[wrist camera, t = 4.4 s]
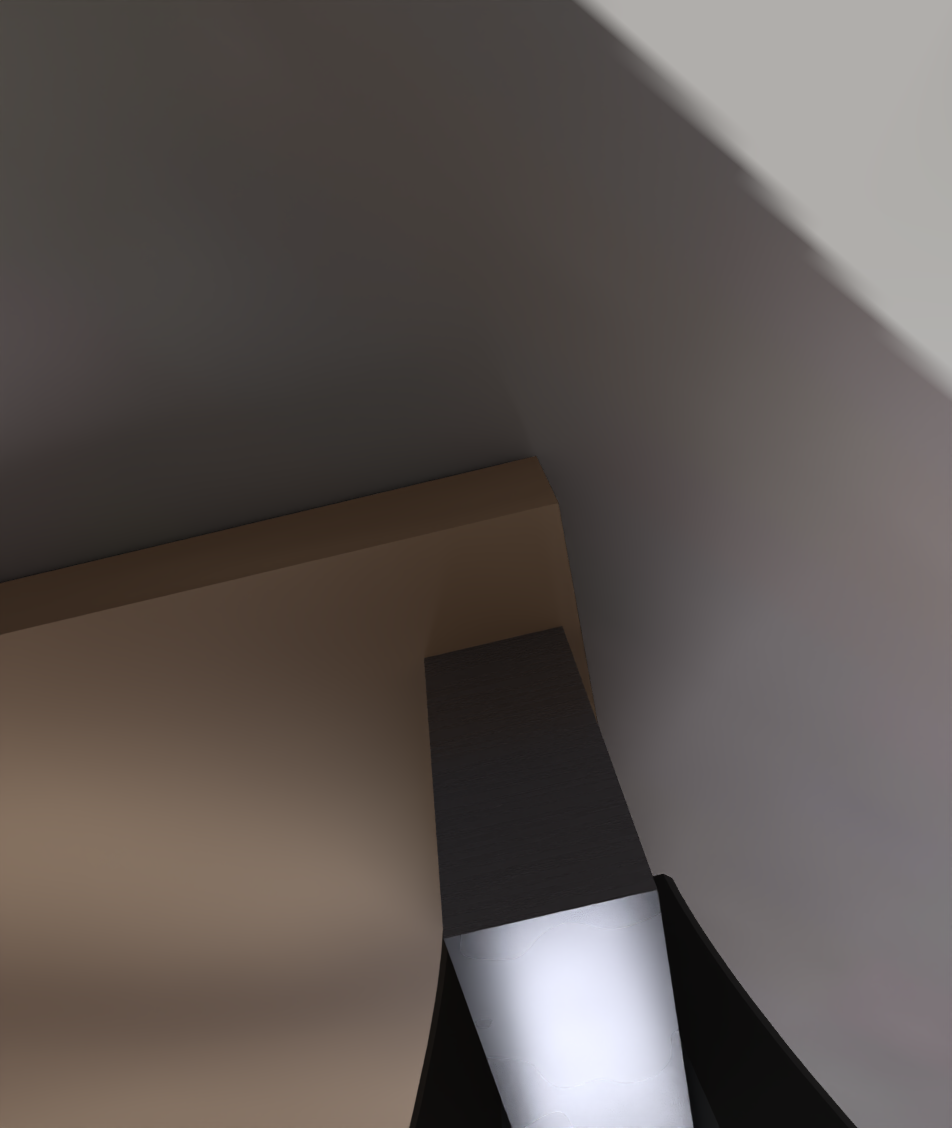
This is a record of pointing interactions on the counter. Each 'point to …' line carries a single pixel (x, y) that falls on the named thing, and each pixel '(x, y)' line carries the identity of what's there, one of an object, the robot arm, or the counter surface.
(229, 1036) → the wooden tray
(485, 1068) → the robot arm
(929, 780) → the counter surface
